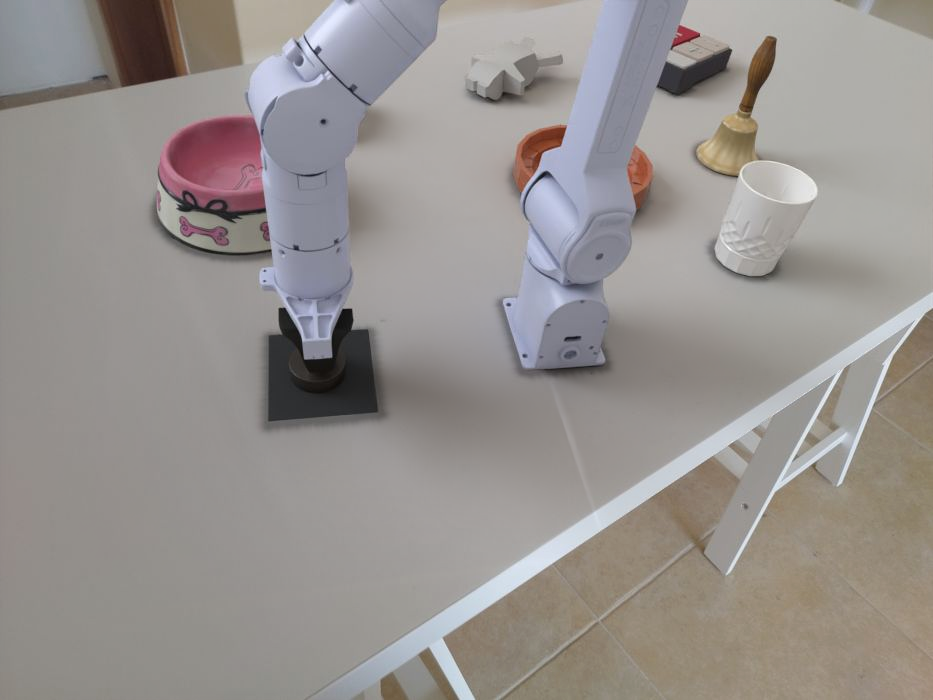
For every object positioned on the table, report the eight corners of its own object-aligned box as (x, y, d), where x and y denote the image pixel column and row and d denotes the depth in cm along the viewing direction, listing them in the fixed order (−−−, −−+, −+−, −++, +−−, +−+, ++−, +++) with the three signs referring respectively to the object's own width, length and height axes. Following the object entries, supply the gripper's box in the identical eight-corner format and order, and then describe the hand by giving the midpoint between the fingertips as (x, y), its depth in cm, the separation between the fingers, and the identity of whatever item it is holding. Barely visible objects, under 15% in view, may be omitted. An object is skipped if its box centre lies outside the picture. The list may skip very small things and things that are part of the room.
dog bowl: (356, 179, 86) (355, 126, 81) (288, 276, 74) (281, 219, 69) (212, 145, 89) (203, 92, 84) (121, 233, 76) (104, 176, 71)
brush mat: (378, 414, 62) (378, 411, 62) (268, 423, 61) (268, 420, 60) (367, 331, 69) (367, 328, 69) (269, 338, 67) (268, 335, 67)
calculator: (735, 44, 114) (686, 65, 105) (725, 71, 117) (677, 94, 108) (675, 20, 118) (623, 38, 110) (667, 46, 121) (616, 66, 113)
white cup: (695, 241, 83) (725, 165, 76) (751, 231, 86) (785, 156, 79) (735, 286, 79) (771, 208, 71) (794, 274, 81) (834, 197, 74)
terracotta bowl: (664, 222, 86) (673, 197, 83) (530, 228, 83) (534, 201, 80) (620, 148, 96) (626, 124, 94) (500, 150, 94) (503, 125, 91)
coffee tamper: (347, 391, 63) (345, 333, 58) (290, 395, 62) (283, 337, 57) (344, 350, 67) (341, 293, 62) (289, 354, 66) (282, 296, 61)
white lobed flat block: (450, 58, 101) (522, 20, 108) (451, 92, 105) (520, 53, 112) (501, 84, 97) (572, 43, 104) (499, 118, 101) (568, 76, 108)
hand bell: (689, 164, 95) (731, 42, 84) (702, 136, 101) (744, 18, 89) (753, 183, 93) (805, 61, 82) (763, 154, 99) (813, 35, 87)
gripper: (254, 172, 57) (272, 301, 67) (249, 297, 48) (271, 426, 57) (345, 170, 59) (349, 297, 68) (359, 291, 49) (362, 418, 59)
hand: (319, 355), depth 63 cm, fingers closed
